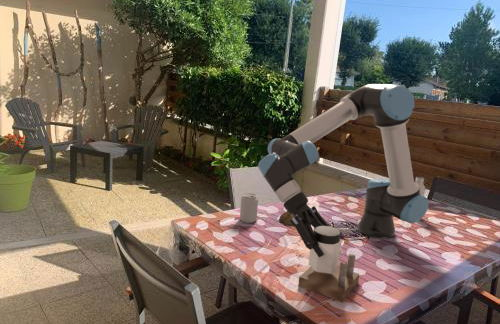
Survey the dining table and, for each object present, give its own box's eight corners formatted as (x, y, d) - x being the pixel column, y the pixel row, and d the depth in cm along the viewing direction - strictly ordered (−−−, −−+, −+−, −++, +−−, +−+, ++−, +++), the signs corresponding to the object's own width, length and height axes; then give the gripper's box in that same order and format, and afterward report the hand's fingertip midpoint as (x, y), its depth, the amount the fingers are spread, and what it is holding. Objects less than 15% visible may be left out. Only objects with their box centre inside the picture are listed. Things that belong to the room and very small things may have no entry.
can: (254, 224, 162) (256, 198, 160) (238, 222, 164) (239, 196, 161) (258, 219, 170) (259, 193, 167) (241, 216, 171) (243, 191, 169)
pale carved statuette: (406, 218, 183) (412, 178, 179) (406, 214, 189) (412, 175, 185) (421, 220, 181) (427, 180, 177) (420, 216, 187) (426, 177, 183)
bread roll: (306, 218, 175) (307, 208, 174) (307, 228, 163) (308, 217, 162) (278, 216, 176) (279, 205, 175) (278, 225, 164) (278, 214, 163)
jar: (318, 258, 123) (322, 223, 120) (341, 267, 118) (346, 230, 115) (304, 267, 116) (307, 230, 114) (327, 277, 111) (332, 238, 108)
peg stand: (298, 285, 115) (301, 255, 113) (317, 268, 126) (320, 240, 124) (342, 302, 107) (346, 270, 105) (358, 282, 119) (362, 253, 117)
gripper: (298, 196, 130) (338, 254, 125) (267, 211, 113) (311, 278, 108) (314, 185, 126) (355, 243, 121) (284, 198, 109) (331, 266, 104)
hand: (334, 259), depth 114 cm, fingers closed on jar, 8 cm apart
